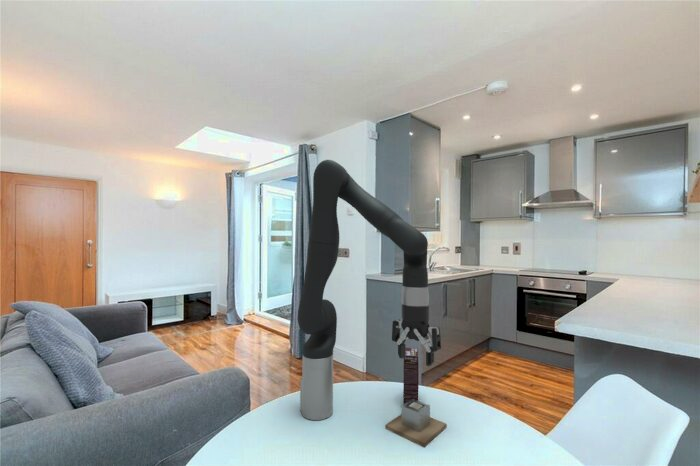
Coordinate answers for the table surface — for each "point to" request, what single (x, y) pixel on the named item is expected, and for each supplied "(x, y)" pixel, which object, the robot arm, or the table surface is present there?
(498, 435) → the table surface
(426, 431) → the post stand
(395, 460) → the table surface
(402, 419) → the collar
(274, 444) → the table surface
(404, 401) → the supplement box
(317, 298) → the robot arm
